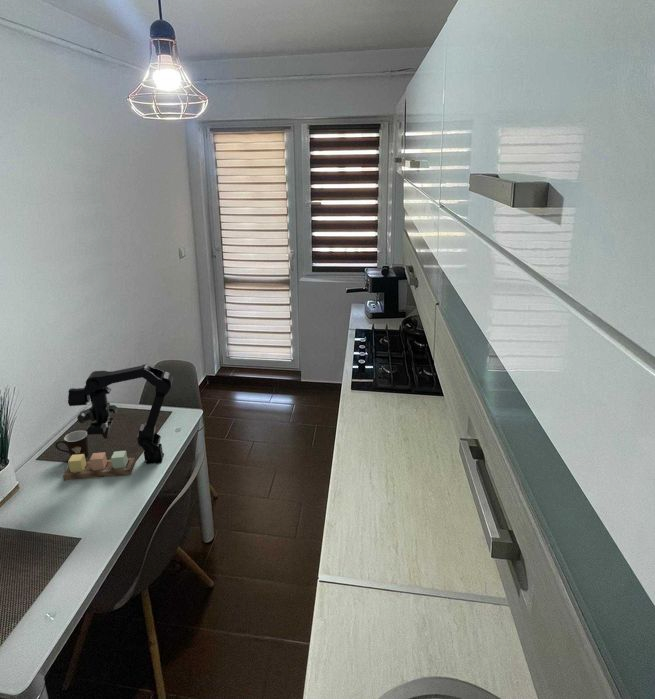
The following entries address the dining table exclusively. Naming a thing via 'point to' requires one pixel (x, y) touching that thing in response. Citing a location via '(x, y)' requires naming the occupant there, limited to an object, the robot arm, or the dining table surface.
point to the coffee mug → (76, 443)
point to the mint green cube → (119, 459)
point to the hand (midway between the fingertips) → (106, 438)
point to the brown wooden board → (100, 471)
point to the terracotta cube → (98, 461)
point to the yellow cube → (77, 463)
